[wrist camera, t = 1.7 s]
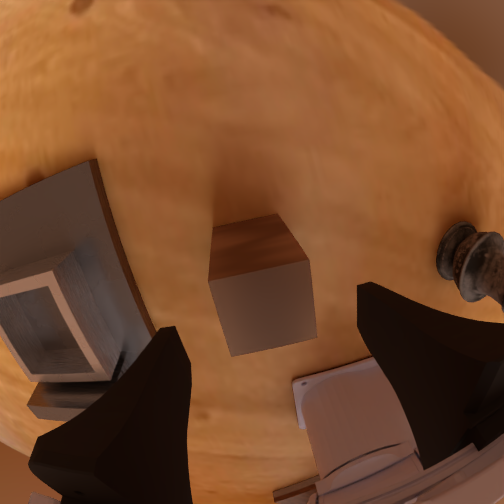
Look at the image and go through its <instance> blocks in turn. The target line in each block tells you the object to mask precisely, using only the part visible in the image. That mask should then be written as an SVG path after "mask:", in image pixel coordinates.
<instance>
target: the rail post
mask: <svg viewBox="0 0 504 504" xmlns="http://www.w3.org/2000/svg"><path fill="white" fill-rule="evenodd" d="M208 283H209V286H210V290H211V293H212V297H213V300H214V303H215V306H216V310H217V313H218V316H219V319H220V323H221V326H222V329H223V332H224V335H225V338H226V342H227V345H228V348H229V351H230V354H231V357H233V356H238V355H243V354H248V353H253V352H258V351H263V350H267V349H272V348H277V347H281V346H285V345H290V344H294V343H298V342H302V341H306V340H310V339H314V338H317V328H316V317H315V307H314V297H313V288H312V279H311V270H310V262H309V258H308V257H307V255H306V254H305V252H304V251H303V249H302V248H301V247H300V245H299V244H298V242H297V241H296V239H295V238H294V236H293V235H292V233H291V232H290V231H289V229H288V228H287V226H286V225H285V223H284V222H283V220H282V219H281V218H280V216H279V215H278V214H274V215H270V216H265V217H260V218H255V219H251V220H246V221H241V222H237V223H232V224H228V225H223V226H219V227H214V228H213V232H212V243H211V253H210V264H209V276H208Z"/></svg>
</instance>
